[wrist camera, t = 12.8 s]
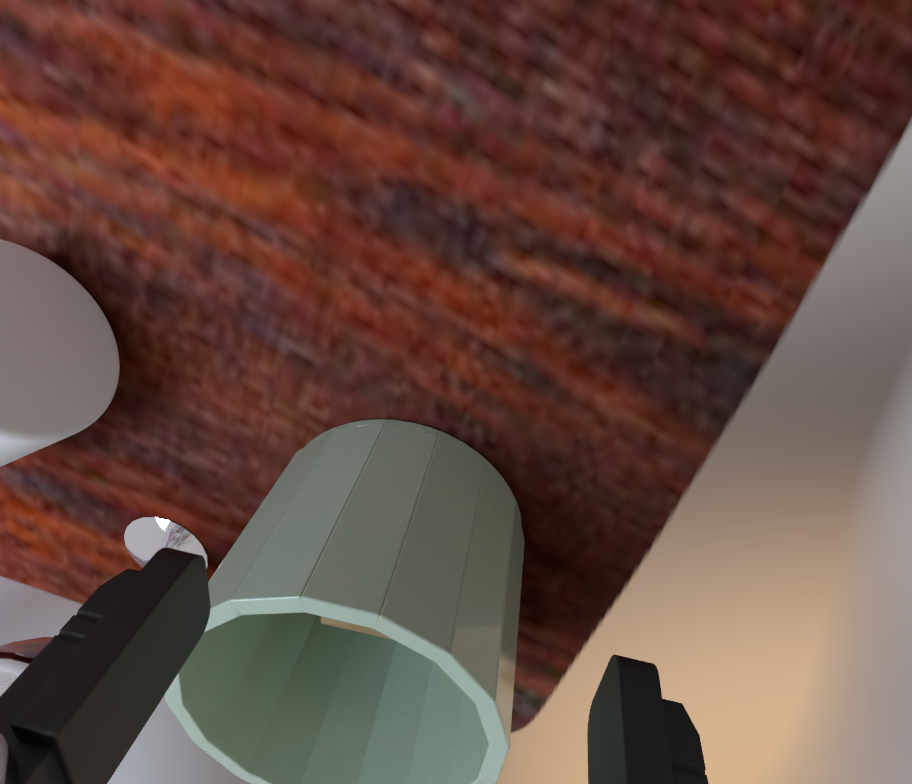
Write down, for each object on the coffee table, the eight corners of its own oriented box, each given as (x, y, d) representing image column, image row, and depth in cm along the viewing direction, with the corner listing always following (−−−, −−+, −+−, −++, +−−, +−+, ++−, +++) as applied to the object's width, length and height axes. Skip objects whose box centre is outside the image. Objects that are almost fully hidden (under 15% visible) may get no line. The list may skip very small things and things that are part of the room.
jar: (549, 451, 26) (543, 655, 17) (496, 631, 32) (471, 851, 23) (283, 393, 27) (142, 558, 18) (280, 580, 33) (175, 774, 24)
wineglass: (232, 600, 35) (93, 828, 24) (127, 586, 35) (-52, 801, 25) (210, 510, 31) (37, 730, 21) (94, 497, 32) (-127, 703, 22)
